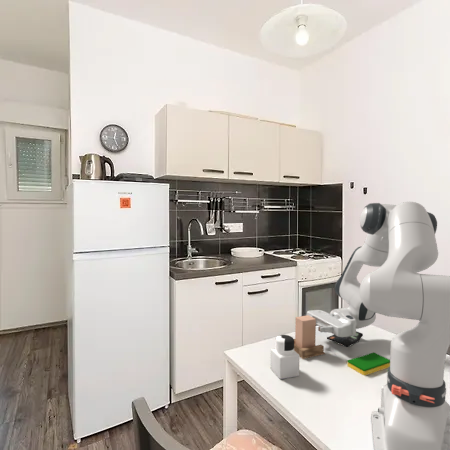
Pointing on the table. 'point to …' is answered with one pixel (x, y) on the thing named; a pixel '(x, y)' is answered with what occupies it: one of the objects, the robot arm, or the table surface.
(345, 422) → the table surface
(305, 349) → the tray
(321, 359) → the table surface
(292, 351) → the medicine bottle
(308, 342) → the clay block
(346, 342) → the calculator
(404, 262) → the robot arm
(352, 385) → the table surface
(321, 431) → the table surface
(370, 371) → the dish sponge
